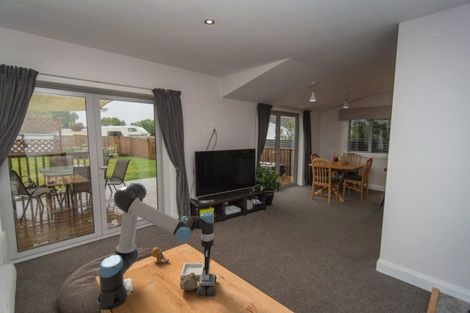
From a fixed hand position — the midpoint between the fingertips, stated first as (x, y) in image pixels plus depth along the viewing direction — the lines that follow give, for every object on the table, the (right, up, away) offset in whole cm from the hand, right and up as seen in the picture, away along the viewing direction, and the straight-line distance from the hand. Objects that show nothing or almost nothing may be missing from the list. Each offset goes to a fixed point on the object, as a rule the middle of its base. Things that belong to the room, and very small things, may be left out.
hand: (207, 274), depth 136 cm
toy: (-39, -6, +29) cm, 49 cm away
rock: (-12, -8, +1) cm, 15 cm away
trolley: (0, -9, +1) cm, 9 cm away
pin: (0, -2, 0) cm, 2 cm away
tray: (-12, -7, +16) cm, 21 cm away
